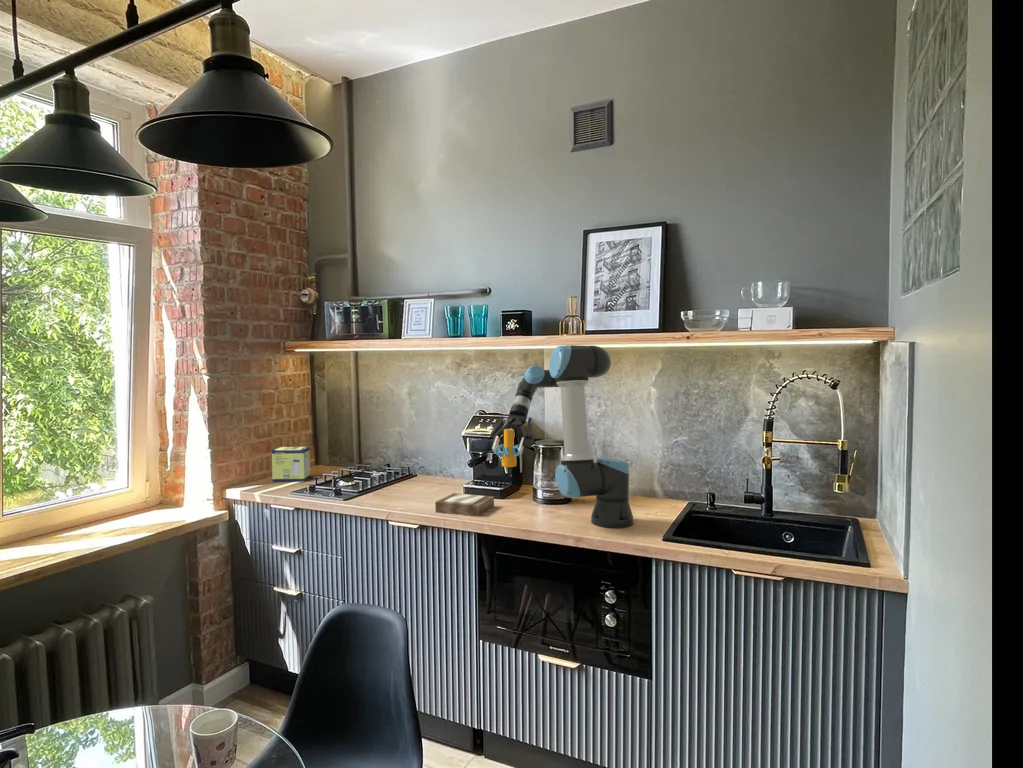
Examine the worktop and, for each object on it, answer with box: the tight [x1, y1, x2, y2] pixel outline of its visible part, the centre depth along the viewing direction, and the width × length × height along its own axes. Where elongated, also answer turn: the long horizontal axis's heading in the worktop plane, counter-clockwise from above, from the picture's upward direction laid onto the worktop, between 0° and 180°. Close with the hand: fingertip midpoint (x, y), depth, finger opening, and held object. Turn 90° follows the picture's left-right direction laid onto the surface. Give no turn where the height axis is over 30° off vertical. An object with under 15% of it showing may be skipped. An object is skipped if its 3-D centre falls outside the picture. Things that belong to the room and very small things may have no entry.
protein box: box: [271, 446, 311, 483], centre depth 297 cm, size 10×16×16 cm
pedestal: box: [435, 492, 495, 517], centre depth 240 cm, size 18×16×4 cm
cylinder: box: [494, 428, 521, 468], centre depth 248 cm, size 12×10×15 cm
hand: (506, 451), depth 245 cm, fingers closed on cylinder, 11 cm apart
